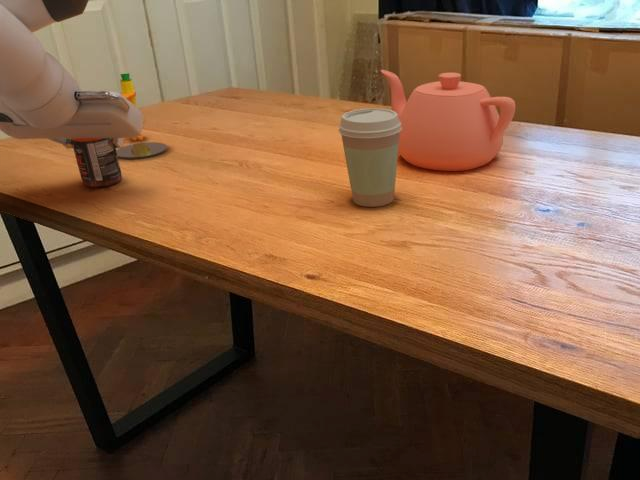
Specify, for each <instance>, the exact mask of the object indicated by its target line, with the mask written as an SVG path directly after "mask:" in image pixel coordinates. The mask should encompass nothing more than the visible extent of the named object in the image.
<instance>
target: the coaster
mask: <svg viewBox="0 0 640 480" xmlns="http://www.w3.org/2000/svg"><path fill="white" fill-rule="evenodd" d="M168 150H169V149H168V145H166V144H165V143H162V142H155V141H147V142H138V143H132V144H128V145H125V146H124V145H123V147H122V148H117V149H116V152H117V156H118V159H121V160H142V159H149V158H154V157H158V156H161V155H162V154H164V153H167V151H168Z"/></svg>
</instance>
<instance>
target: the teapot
mask: <svg viewBox="0 0 640 480" xmlns="http://www.w3.org/2000/svg"><path fill="white" fill-rule="evenodd" d="M380 72H381V74H382V75H383V76H384V77H385V79H386V80H387V82H388V84H389V88H390V98H391V99H390V108H391V109H390V110H392V111H394V112H396V113H397V115H398V118H399V121H400V122H401V127H402V130H401V131H400V134H399V146H398V154H400V156H401V157H402V159H403V160H405V162H407V163H408V164H410V165H412V166H415V167H418V168H422V169H426V170H432V171H441V172H443V171H445V172H462V171H470V170H474V169H478V168H480V167H483V166H485V165H487V164H488V163H490V162H491V161H492V160H493V159H494V158H495V157H496V155H498V153H499V152H500V150H501V149H502V147H503V144H504V133H505V132H506V130H507V129H508V127H509V126H510V124H511V122H512V121H513V118H514V116H515V113H516V107H517V106H516V102H515V100H514V99H512V97H509V96H491V95H490V92H489V91H488V89H487V88H486V86H484V85H482V84H479V83H475V82H468V81H461V78H462V74H461V73H459V72H452V71H451V72H449V71H448V72H442V73H440V74H438V80H439V81H432V82H428V83H427V82H426V83H424V84H420V85H418V86H416V87H415V88H414V89H413V90H412V92H411V93H410V95H409V98H408V99H406V95H405V90H404V87H403V82H402V81H401V80H400V78H399V76H398V75H397V74H395V72H391V71H389V70H386V69H380ZM497 107H498V108H499V110H500V112H498V108H497Z"/></svg>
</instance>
